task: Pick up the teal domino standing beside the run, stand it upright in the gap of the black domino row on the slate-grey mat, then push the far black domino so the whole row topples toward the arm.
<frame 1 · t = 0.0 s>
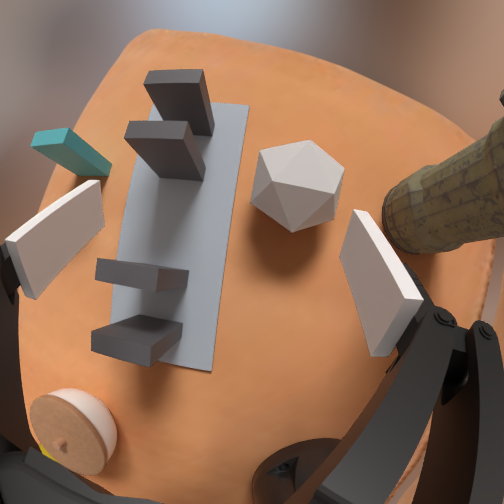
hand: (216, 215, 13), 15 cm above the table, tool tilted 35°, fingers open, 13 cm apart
thermos: (411, 218, 29), on the table
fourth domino: (165, 274, 28), resting on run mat
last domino: (159, 325, 27), resting on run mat
teal domino: (94, 169, 29), on the table
die: (291, 196, 29), on the table
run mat: (174, 222, 29), on the table
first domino: (192, 129, 29), resting on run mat
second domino: (182, 172, 29), resting on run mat
lidded jar: (94, 413, 27), on the table
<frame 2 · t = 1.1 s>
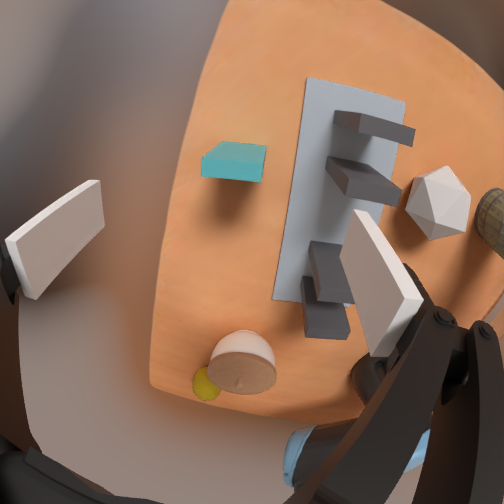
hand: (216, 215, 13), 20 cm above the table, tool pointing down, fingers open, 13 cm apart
thermos: (492, 213, 31), on the table
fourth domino: (327, 248, 35), resting on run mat
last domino: (318, 282, 38), resting on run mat
teal domino: (243, 150, 30), on the table
die: (425, 192, 31), on the table
lemon: (211, 365, 51), on the table
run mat: (336, 208, 33), on the table
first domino: (354, 121, 27), resting on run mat
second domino: (346, 166, 30), resting on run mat
lidded jar: (245, 340, 46), on the table
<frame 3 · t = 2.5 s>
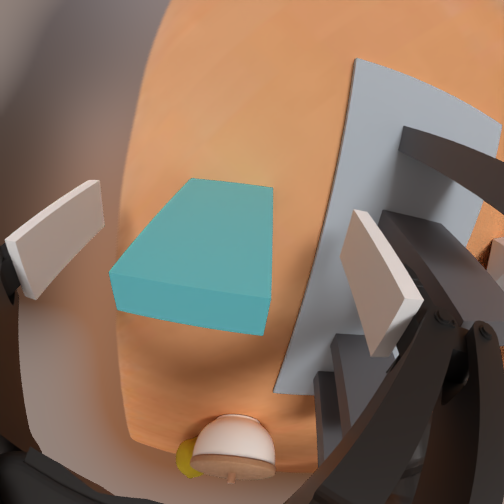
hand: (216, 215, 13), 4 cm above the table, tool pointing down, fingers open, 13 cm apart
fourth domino: (359, 341, 22), resting on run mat
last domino: (338, 376, 25), resting on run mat
teal domino: (230, 194, 17), on the table
die: (499, 257, 17), on the table
lemon: (197, 435, 38), on the table
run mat: (382, 289, 20), on the table
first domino: (433, 149, 14), resting on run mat
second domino: (410, 227, 16), resting on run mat, touching gripper
lidded jar: (238, 421, 33), on the table
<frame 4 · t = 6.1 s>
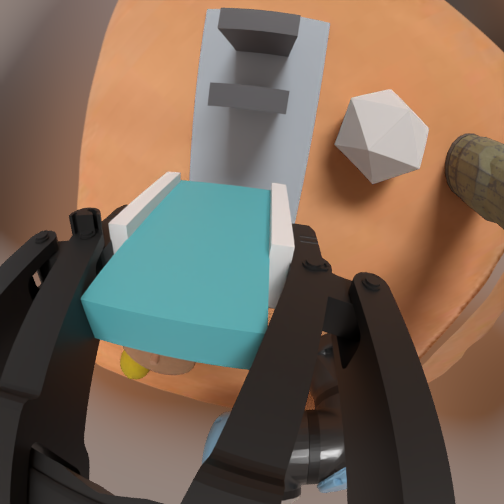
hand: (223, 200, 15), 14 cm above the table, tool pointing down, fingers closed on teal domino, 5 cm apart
thermos: (469, 166, 25), on the table
teal domino: (223, 198, 15), point 14 cm above the table, touching gripper
die: (369, 129, 25), on the table
lemon: (144, 342, 46), on the table
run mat: (249, 148, 27), on the table
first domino: (263, 46, 21), resting on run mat
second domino: (256, 97, 24), resting on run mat
lidded jar: (171, 313, 41), on the table
when the fingers open (2 cm above the table, at t = 8.9 s): teal domino stays where it is, resting on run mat.
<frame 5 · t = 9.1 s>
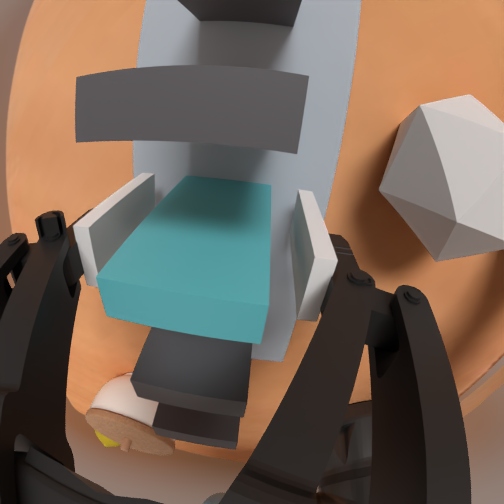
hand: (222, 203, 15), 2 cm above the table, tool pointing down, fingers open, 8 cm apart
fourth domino: (221, 269, 19), resting on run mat
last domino: (218, 324, 22), resting on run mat
teal domino: (226, 192, 16), resting on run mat
die: (425, 157, 14), on the table
lemon: (121, 403, 35), on the table
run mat: (227, 190, 16), on the table
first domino: (247, 10, 10), resting on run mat
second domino: (235, 99, 13), resting on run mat
lidded jar: (145, 384, 30), on the table
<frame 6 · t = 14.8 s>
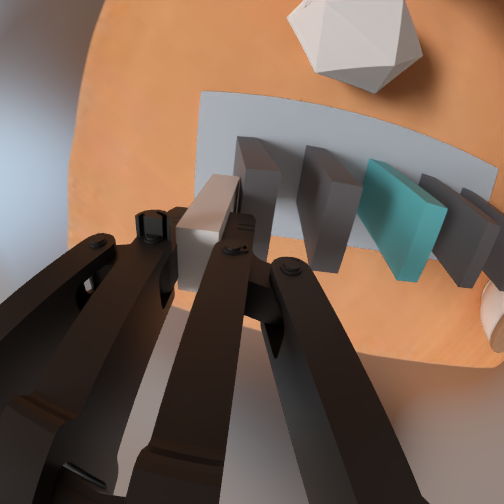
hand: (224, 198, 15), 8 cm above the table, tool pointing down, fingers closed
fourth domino: (421, 199, 22), resting on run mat
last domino: (459, 211, 22), resting on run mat
teal domino: (370, 187, 22), resting on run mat
die: (342, 42, 16), on the table
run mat: (369, 186, 22), on the table
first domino: (243, 166, 22), point 1 cm above the table, tilted 9°, touching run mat
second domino: (310, 175, 22), resting on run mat
lidded jar: (495, 287, 27), on the table
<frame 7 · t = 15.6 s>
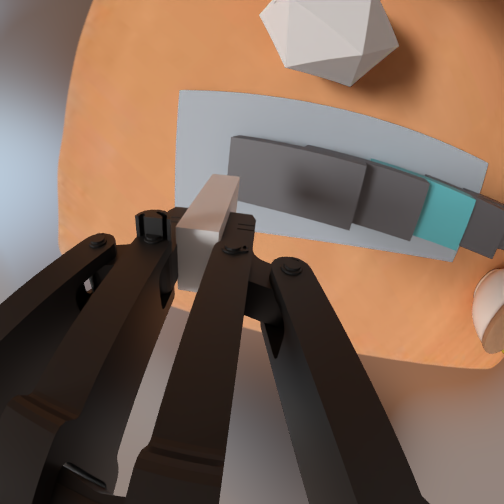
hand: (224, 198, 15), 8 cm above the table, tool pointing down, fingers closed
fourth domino: (419, 201, 21), point 1 cm above the table, tilted 72°, touching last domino, teal domino
teal domino: (364, 187, 22), point 1 cm above the table, tilted 73°, touching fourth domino, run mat, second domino
die: (320, 36, 16), on the table
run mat: (350, 181, 22), on the table
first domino: (232, 166, 21), point 1 cm above the table, tilted 73°, touching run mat, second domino
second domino: (301, 175, 21), point 1 cm above the table, tilted 73°, touching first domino, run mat, teal domino
lidded jar: (488, 286, 27), on the table
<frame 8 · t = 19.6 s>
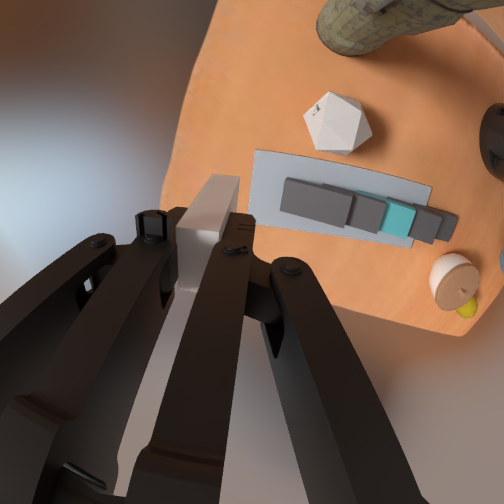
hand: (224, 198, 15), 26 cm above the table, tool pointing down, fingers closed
thermos: (345, 30, 28), on the table
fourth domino: (383, 211, 41), point 1 cm above the table, tilted 73°, touching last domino, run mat, teal domino
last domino: (410, 217, 41), point 1 cm above the table, tilted 90°, touching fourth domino, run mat
teal domino: (352, 205, 41), point 1 cm above the table, tilted 73°, touching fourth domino, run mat, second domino
die: (332, 121, 36), on the table
lemon: (457, 291, 50), on the table
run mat: (344, 201, 42), on the table
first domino: (283, 194, 41), point 1 cm above the table, tilted 73°, touching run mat, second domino
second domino: (319, 199, 41), point 1 cm above the table, tilted 73°, touching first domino, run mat, teal domino
lidded jar: (442, 266, 47), on the table
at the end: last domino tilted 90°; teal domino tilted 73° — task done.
